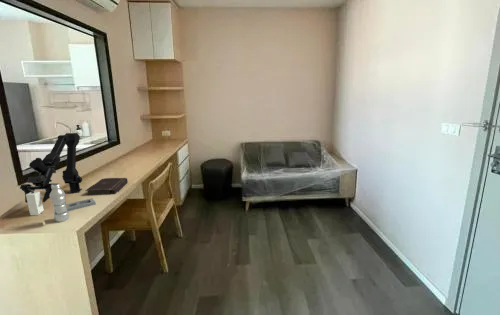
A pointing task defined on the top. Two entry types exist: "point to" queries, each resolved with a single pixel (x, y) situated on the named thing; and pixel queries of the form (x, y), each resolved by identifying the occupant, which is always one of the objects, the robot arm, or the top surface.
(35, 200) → the charger
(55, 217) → the plastic bottle
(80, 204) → the power strip
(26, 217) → the top surface
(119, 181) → the diary
